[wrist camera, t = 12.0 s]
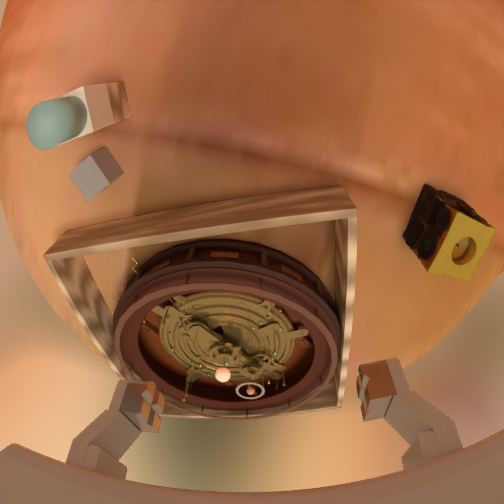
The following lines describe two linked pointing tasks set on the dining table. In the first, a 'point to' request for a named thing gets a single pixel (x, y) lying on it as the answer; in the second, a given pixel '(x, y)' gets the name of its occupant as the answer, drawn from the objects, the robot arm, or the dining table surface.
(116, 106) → the tower base
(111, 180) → the slate block
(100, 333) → the orrery frame
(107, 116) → the cream white cube
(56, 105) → the sage green cylinder
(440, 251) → the yellow dark brown cube
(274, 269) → the planetary model
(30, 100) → the dining table surface
